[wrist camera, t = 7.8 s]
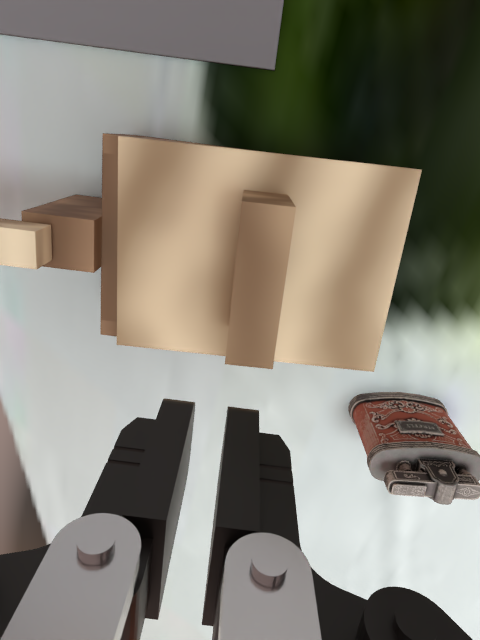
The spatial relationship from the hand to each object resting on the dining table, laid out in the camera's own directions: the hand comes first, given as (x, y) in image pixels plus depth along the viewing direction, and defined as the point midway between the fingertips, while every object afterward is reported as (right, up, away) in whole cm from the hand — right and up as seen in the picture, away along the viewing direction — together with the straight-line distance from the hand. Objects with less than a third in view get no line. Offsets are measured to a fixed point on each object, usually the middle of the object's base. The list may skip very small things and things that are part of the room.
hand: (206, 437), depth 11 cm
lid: (+2, +6, +17) cm, 18 cm away
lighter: (+14, -5, +28) cm, 32 cm away
